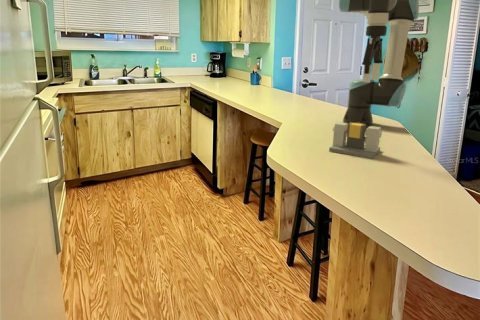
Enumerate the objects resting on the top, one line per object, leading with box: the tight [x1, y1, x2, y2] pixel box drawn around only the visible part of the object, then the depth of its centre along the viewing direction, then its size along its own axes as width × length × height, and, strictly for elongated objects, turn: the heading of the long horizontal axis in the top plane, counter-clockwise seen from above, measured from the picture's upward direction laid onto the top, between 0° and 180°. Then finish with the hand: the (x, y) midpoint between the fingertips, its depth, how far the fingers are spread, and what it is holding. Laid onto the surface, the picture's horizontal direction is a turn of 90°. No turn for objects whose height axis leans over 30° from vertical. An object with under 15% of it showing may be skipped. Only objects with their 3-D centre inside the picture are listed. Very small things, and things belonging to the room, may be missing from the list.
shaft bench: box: [328, 121, 383, 159], centre depth 146 cm, size 12×18×10 cm, turn 57°
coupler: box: [346, 122, 366, 139], centre depth 145 cm, size 4×6×5 cm
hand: (370, 80), depth 149 cm, fingers open, 13 cm apart
